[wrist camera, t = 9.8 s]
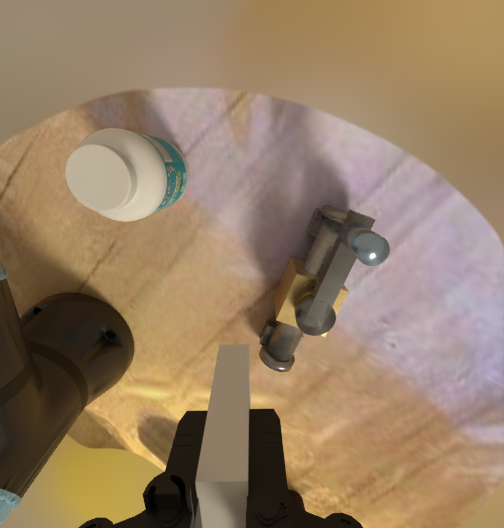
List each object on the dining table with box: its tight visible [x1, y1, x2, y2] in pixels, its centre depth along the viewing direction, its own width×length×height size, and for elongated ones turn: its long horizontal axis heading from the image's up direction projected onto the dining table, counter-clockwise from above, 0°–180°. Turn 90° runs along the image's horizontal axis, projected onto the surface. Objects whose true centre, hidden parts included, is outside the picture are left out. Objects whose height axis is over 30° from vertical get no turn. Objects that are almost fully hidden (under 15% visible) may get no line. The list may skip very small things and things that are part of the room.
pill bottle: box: [65, 128, 189, 221], centre depth 27 cm, size 8×7×14 cm
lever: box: [294, 210, 390, 336], centre depth 26 cm, size 13×4×6 cm, turn 161°
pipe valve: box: [259, 205, 348, 372], centre depth 34 cm, size 6×21×7 cm, turn 160°
